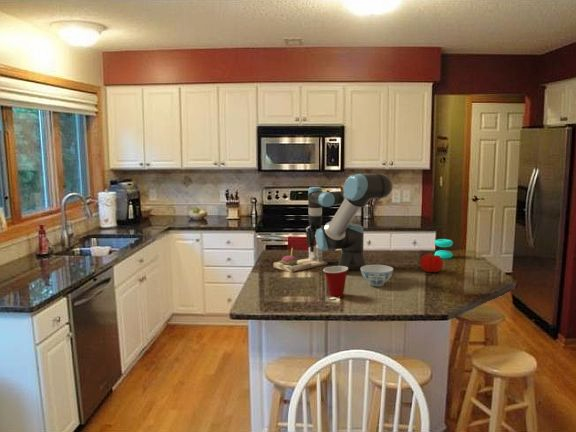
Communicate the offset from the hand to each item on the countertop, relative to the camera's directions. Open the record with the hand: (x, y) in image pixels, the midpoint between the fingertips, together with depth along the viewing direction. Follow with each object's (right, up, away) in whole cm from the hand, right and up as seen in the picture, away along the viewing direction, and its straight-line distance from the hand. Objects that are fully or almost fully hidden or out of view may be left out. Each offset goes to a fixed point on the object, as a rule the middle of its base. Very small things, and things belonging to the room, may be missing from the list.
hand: (315, 256), depth 276 cm
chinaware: (+26, -9, -45) cm, 53 cm away
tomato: (+58, -6, -23) cm, 63 cm away
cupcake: (-15, -6, -12) cm, 19 cm away
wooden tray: (-8, -4, -7) cm, 11 cm away
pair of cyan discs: (+74, -1, +10) cm, 75 cm away
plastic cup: (+5, -12, -61) cm, 62 cm away
